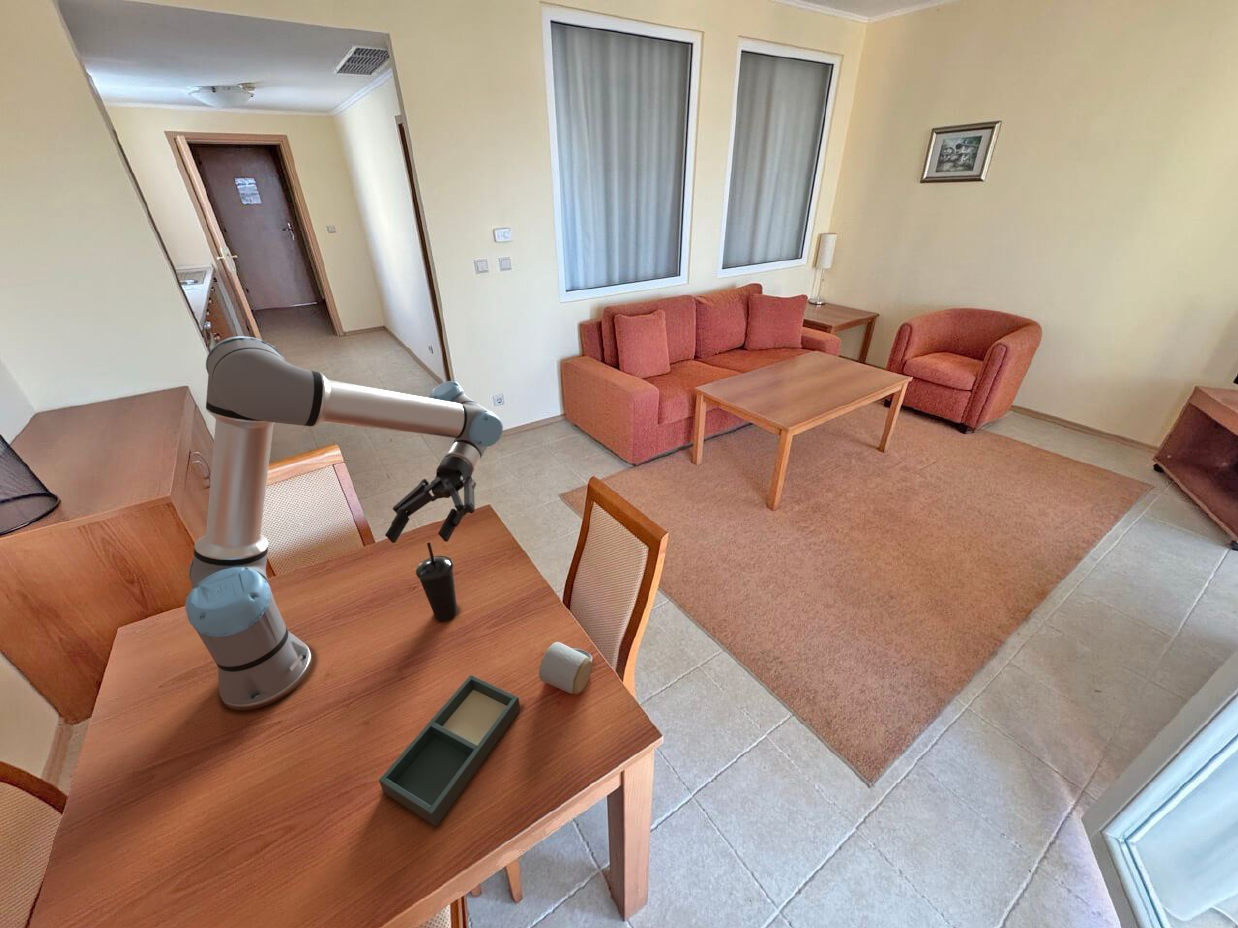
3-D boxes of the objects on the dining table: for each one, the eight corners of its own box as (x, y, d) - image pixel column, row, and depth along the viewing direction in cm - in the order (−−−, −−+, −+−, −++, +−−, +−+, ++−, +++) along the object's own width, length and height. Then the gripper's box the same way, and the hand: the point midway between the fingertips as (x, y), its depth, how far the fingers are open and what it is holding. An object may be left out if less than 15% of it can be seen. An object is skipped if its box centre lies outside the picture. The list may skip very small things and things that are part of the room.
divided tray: (383, 792, 79) (378, 780, 77) (473, 686, 96) (470, 674, 94) (436, 826, 75) (431, 813, 73) (520, 709, 92) (518, 696, 90)
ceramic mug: (576, 704, 92) (574, 676, 88) (539, 688, 95) (536, 661, 92) (602, 662, 101) (601, 635, 97) (567, 648, 104) (565, 622, 100)
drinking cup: (428, 605, 115) (410, 536, 105) (462, 598, 117) (447, 529, 107) (428, 629, 108) (408, 558, 99) (464, 621, 110) (448, 550, 101)
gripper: (510, 473, 115) (475, 548, 101) (423, 480, 124) (379, 549, 109) (496, 450, 110) (457, 525, 96) (407, 458, 119) (358, 528, 104)
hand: (415, 538), depth 102 cm, fingers open, 13 cm apart
